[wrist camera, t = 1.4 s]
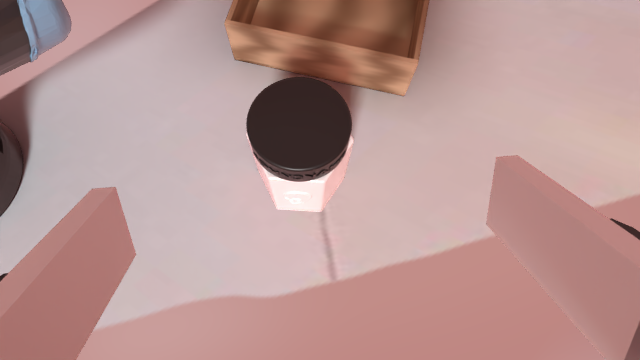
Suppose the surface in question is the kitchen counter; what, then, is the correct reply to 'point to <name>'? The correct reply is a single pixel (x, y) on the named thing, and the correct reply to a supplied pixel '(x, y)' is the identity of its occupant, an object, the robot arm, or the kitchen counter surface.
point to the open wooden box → (332, 39)
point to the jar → (300, 142)
